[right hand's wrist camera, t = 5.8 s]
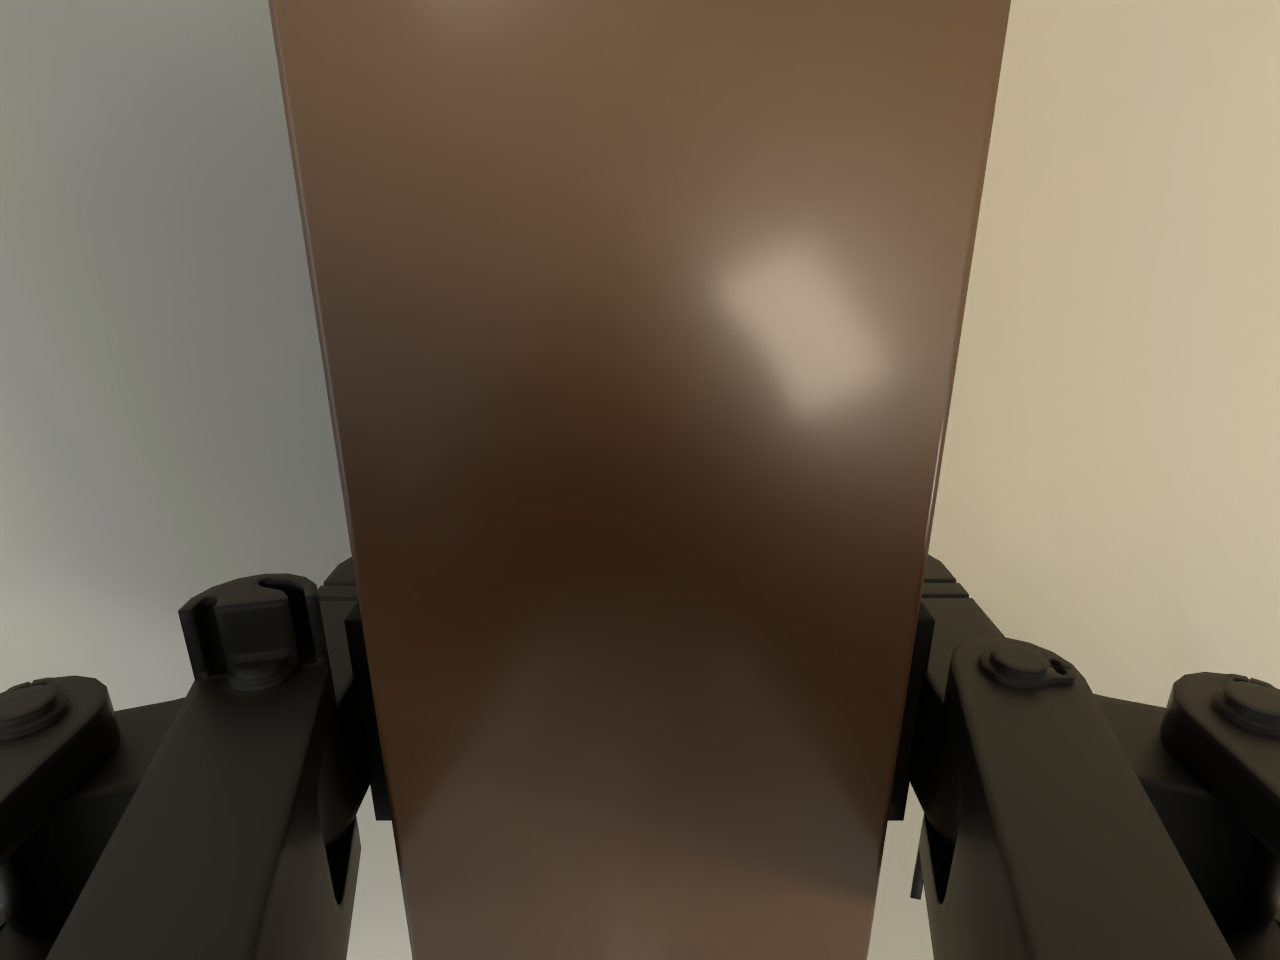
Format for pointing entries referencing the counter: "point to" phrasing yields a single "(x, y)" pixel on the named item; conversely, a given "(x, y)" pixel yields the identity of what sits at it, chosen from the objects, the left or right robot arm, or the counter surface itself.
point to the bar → (639, 441)
